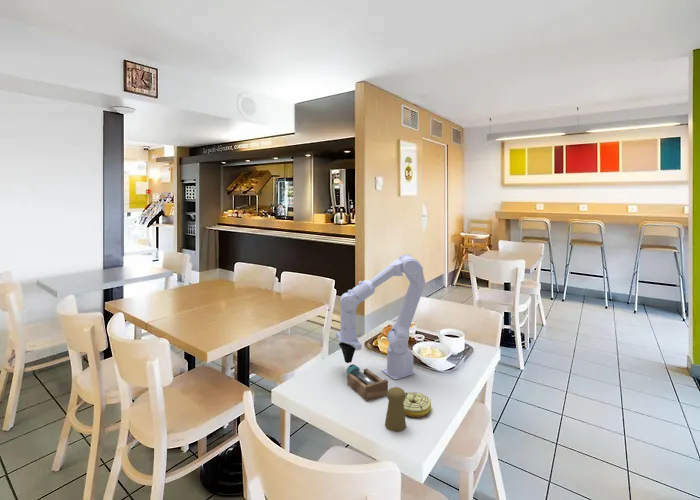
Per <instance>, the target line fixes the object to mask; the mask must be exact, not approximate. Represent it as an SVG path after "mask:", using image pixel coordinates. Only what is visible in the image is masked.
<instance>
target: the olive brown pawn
mask: <svg viewBox="0 0 700 500" xmlns="http://www.w3.org/2000/svg"><path fill="white" fill-rule="evenodd" d="M405 393H406V391H405V390H404V389H403V388H402V387H398V386H393V387H390V388H389V389H388V392H387V395H386V397H387V400H388V403H387V409H386V415H385V422H384V427H385V428H386V429H387V430H388V431H391V432H393V433H398V432H399V433H400V432H403V431H405V429H406V428H407V423H406V414H405V412H404V403H403V402H404V400H405V397H406V395H405Z"/></svg>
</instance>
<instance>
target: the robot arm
mask: <svg viewBox="0 0 700 500" xmlns="http://www.w3.org/2000/svg"><path fill="white" fill-rule="evenodd" d="M403 274H405V276H406V278H407V280H408V281H409V285H408V288H407V290H406V294H405V297H404V300H403V302H402V304H401V307H400V311H399V314H398V316H397V319H396V322H395V323H393V325H392V327H391V329H390V330H389V331H388V333H387V335H386V340H387V342H388V343H389V344H388V347H387V348H386V349H387V351H386V352H387V353H386V354H387V355H386V368H384V369H381V372H382V373H383V374H385V375H387V376H388V377H390V378H391V379H393V380H395V381H396V380H398V379H399V380H400V379H402V378H405V377H409V376H412V375H414V374H415V371H414V361H415V360H414V358H415V357H414V352H413V351H412V349H411V348H409V339H410V328H411V325H412V323H413V320H414V317H415V313H416V311H417V309H418V308H417V307H418V306H419V302H420V300H421V297H422V295H423V291H424V289H425V285H426V279H425V274H424V267H423V266H422V264H421V263H420V262H419V260H417V258H414V257H413V256H412V255H410V254H403V255H401V256H400V257H398V258H396V259H393V261H392V262H391V263H390V264H388V265H387V266H386V267H385V268H384V269H382V270H381V271H380V272H379V273H377V274H376V275H375V276H373V277H372V278H371V279H370V280H368V279H364V280H359V282H358V284H357V285H356V286H354V287H352V289H348V290H347V292H344V293H342V295H341V296H340V299H339V303H340V316H339V317H340V331H336V333H335V334H336V335H335V336H336V338H337V342H338V346H339V347H340V350H341V352H342V354H343V360H344V362H345V363H346V364H349V363H352V362H353V359H354V354H355V353H356V351H361V350H362V346H363V345H362V343H360V341H359V339H358V338H357V312H356V311H357V308H358V305H359V304H361V303H363V301H365V300H367V299H369V297H370V296H372V295H374V294H375V290H376V288H378V287H379V286H380V285H382V284H383V283H385V282H386V281H388V280H390V279H391V278H393V277H394V276H395V277H403V276H404V275H403Z"/></svg>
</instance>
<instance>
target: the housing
mask: <svg viewBox="0 0 700 500" xmlns="http://www.w3.org/2000/svg"><path fill="white" fill-rule="evenodd" d="M363 374H365V375H366V376H367V377H369V378H370V379H371V380H373V381H374V382H375V383H372V384H369V385H365V384H364V383H363V382H361V381H360V380H359V379H357V378H356V377H355V376H354V375H352V374H351V373H349V374H347V373H346V375H347V376H346V377H347V382H346V383H347V386H349V388H351V389H352V390H353V391H354V392H355V393H357V395H359V396H360V397H362V398H363V399H364V400H365V401H366V402H367V403H368V402H371V401H374V400H377V399H379V398H384V397H387V392H388V390H389V389H388V388H389V381H388V380H387V379H386V378H385V379H382V378H381V377H379V376H378V375H377V374H376V373H373V372H372V371H371V370H370V369H368V368H364V369H363Z"/></svg>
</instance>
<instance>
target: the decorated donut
mask: <svg viewBox="0 0 700 500" xmlns="http://www.w3.org/2000/svg"><path fill="white" fill-rule="evenodd" d="M405 395H406V397H405V400H404V402H403V403H404V412H405V416H409V417H412V418H417V417H419V418H420V417H424V416H426V415H427V414H428V413H429V412H430V410H431V408H432V401H431V399H430V398H429V397H428V396H427V395H425V394H424V393H421V392H417V391H416V392H415V391H414V392H413V391H410V392H409V391H408V392H406V391H405Z"/></svg>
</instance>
